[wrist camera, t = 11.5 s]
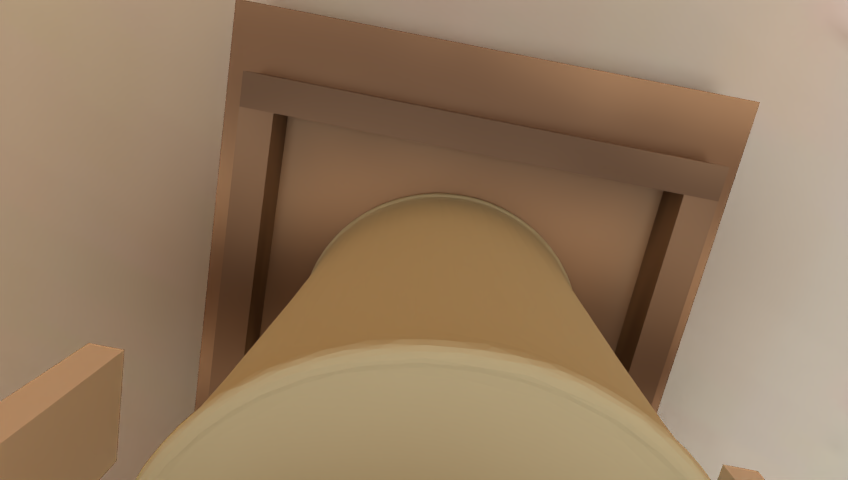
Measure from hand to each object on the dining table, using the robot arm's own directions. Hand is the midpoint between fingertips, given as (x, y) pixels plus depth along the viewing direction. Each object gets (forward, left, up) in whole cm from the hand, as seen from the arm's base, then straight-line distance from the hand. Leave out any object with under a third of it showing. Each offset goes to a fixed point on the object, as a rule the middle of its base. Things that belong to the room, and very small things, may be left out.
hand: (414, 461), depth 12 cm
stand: (0, 0, -10) cm, 10 cm away
